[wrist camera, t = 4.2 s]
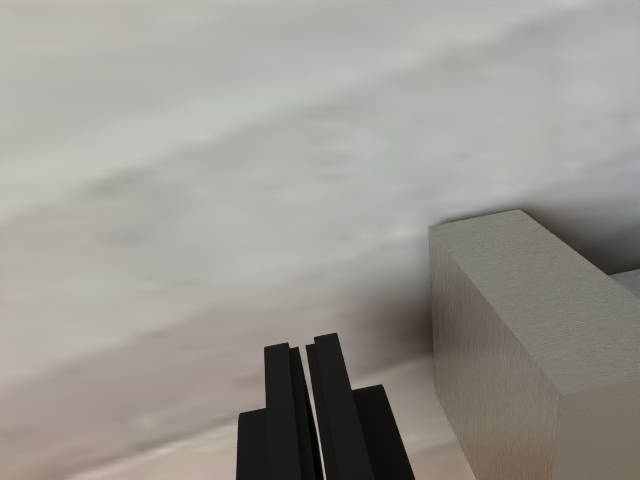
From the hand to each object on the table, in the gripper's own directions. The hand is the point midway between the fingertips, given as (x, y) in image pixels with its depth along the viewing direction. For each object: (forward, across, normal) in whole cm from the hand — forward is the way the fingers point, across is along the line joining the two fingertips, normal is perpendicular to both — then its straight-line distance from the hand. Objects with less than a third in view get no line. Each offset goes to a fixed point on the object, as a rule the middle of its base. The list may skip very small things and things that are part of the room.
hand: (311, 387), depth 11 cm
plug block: (+3, -8, +1) cm, 9 cm away
